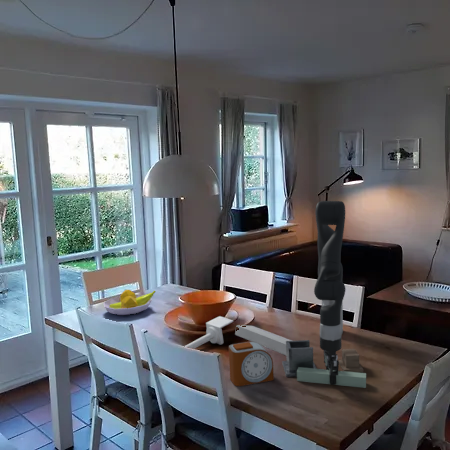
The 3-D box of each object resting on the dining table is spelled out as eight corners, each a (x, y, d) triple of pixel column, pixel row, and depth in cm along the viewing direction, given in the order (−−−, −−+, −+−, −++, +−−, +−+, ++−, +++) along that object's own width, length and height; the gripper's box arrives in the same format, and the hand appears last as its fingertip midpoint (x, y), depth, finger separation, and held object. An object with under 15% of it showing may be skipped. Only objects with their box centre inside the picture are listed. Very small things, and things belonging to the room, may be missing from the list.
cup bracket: (282, 364, 184) (281, 339, 182) (312, 362, 184) (312, 338, 182) (286, 376, 173) (285, 351, 171) (318, 375, 173) (317, 349, 171)
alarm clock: (235, 387, 166) (234, 351, 164) (228, 377, 174) (227, 343, 172) (274, 380, 170) (273, 345, 168) (265, 371, 178) (264, 337, 177)
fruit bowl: (94, 318, 250) (92, 298, 248) (120, 303, 275) (118, 284, 274) (141, 321, 242) (140, 300, 240) (163, 305, 267) (162, 286, 266)
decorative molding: (250, 335, 223) (234, 335, 217) (252, 325, 223) (236, 325, 217) (303, 356, 197) (287, 357, 190) (305, 345, 197) (289, 345, 191)
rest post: (338, 362, 183) (338, 348, 182) (356, 361, 183) (356, 347, 182) (344, 372, 174) (344, 357, 173) (363, 372, 174) (363, 356, 173)
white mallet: (233, 320, 209) (176, 350, 188) (235, 338, 211) (179, 369, 190) (219, 316, 216) (163, 344, 195) (222, 333, 218) (166, 363, 197)
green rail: (298, 377, 173) (298, 367, 172) (366, 383, 165) (366, 373, 165) (297, 381, 169) (296, 371, 169) (365, 388, 162) (365, 377, 161)
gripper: (315, 328, 172) (316, 372, 174) (324, 343, 158) (325, 390, 160) (336, 327, 172) (336, 371, 174) (346, 342, 158) (346, 389, 160)
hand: (331, 380), depth 167 cm, fingers open, 5 cm apart
